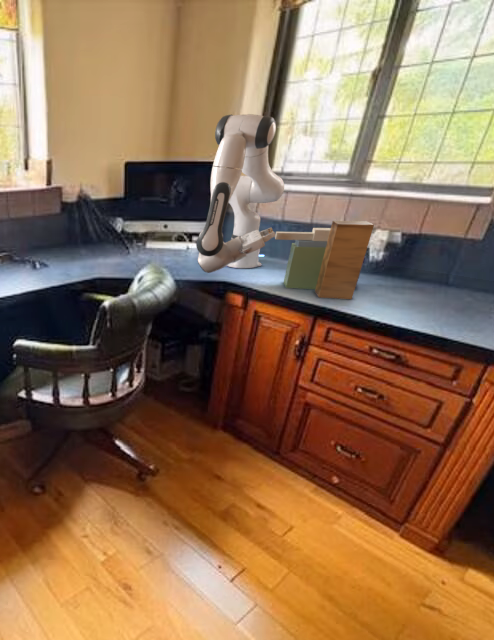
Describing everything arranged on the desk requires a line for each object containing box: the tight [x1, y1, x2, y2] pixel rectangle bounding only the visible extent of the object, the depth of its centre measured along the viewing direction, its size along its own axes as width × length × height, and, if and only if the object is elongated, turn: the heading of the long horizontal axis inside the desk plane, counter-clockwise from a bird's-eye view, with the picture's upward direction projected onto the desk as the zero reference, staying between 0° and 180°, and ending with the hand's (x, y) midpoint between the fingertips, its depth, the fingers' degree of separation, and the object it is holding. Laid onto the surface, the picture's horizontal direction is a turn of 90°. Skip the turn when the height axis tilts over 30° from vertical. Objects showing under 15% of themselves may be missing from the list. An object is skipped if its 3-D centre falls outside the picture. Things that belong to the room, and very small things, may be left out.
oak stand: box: [314, 220, 375, 300], centre depth 152 cm, size 8×11×26 cm
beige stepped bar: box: [274, 227, 331, 241], centre depth 161 cm, size 5×21×4 cm, turn 73°
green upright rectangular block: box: [283, 240, 327, 290], centre depth 166 cm, size 8×12×18 cm, turn 74°
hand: (273, 231), depth 164 cm, fingers open, 8 cm apart
